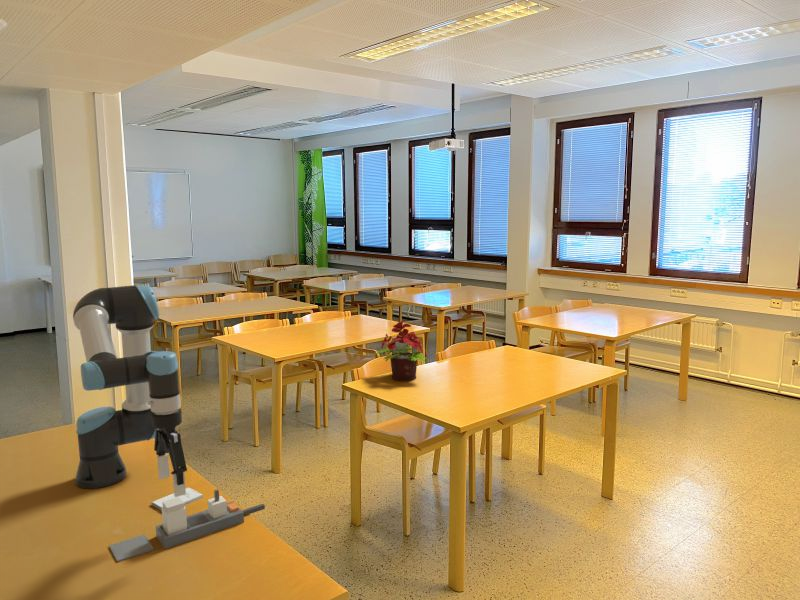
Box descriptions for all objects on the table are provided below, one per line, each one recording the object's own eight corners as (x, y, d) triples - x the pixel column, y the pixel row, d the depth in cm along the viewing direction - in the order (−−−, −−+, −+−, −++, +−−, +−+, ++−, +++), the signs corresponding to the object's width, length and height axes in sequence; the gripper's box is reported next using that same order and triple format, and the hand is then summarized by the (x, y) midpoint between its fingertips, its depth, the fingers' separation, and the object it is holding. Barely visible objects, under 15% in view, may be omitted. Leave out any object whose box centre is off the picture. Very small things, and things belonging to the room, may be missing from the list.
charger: (163, 530, 167) (160, 501, 165) (181, 524, 170) (179, 496, 168) (168, 538, 163) (166, 508, 161) (187, 532, 166) (185, 502, 164)
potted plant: (429, 371, 327) (428, 316, 323) (426, 386, 301) (426, 327, 296) (374, 371, 330) (373, 316, 325) (367, 385, 304) (366, 326, 299)
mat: (109, 546, 162) (109, 545, 162) (144, 535, 168) (144, 534, 168) (117, 562, 155) (117, 560, 155) (153, 549, 161) (153, 548, 161)
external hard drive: (151, 506, 185) (188, 491, 195) (165, 514, 180) (202, 498, 189) (151, 501, 185) (188, 486, 194) (165, 509, 180) (202, 493, 189)
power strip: (165, 549, 161) (162, 513, 159) (156, 536, 167) (153, 502, 166) (269, 513, 179) (268, 481, 177) (258, 503, 185) (256, 472, 184)
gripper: (138, 402, 168) (144, 474, 172) (165, 426, 149) (172, 507, 152) (166, 396, 173) (171, 467, 176) (196, 419, 153) (201, 498, 156)
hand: (172, 486), depth 164 cm, fingers open, 13 cm apart
